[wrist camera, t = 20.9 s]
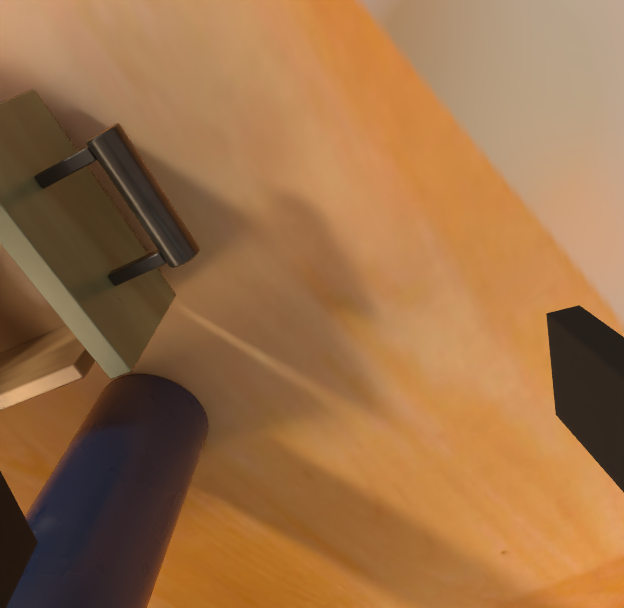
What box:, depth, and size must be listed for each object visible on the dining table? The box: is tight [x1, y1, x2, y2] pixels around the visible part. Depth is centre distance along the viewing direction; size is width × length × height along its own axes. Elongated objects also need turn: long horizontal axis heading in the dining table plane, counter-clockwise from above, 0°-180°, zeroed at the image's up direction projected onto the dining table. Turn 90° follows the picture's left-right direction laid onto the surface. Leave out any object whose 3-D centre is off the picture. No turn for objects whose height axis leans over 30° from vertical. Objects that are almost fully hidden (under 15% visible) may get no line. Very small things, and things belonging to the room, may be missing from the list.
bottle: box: [6, 374, 208, 608], centre depth 27 cm, size 7×7×22 cm
